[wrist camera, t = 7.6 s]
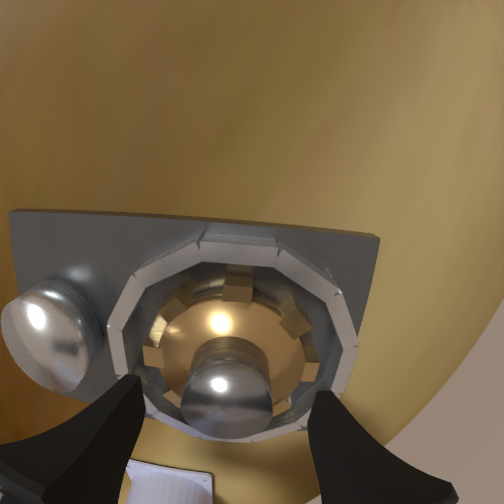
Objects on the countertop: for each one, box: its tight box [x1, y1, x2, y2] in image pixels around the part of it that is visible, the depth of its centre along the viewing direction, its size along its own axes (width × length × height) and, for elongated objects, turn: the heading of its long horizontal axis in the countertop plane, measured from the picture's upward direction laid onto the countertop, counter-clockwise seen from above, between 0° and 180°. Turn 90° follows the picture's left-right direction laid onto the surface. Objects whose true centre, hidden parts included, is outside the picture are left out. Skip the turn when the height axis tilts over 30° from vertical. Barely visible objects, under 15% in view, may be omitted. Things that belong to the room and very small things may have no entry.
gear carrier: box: [1, 209, 380, 443], centre depth 13 cm, size 13×20×4 cm, turn 85°
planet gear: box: [143, 272, 320, 439], centre depth 12 cm, size 8×8×4 cm
